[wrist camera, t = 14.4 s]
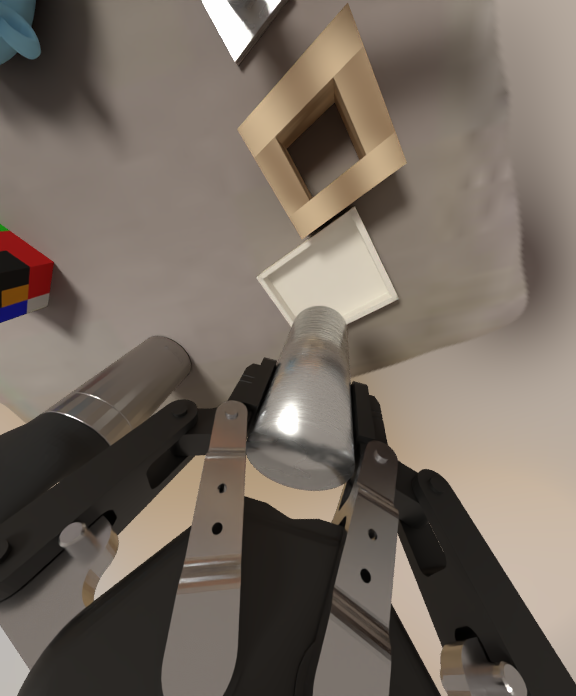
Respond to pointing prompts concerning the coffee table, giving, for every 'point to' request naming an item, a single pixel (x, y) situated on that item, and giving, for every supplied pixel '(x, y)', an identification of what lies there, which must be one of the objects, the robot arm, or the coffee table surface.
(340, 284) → the tray
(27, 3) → the decorative pot
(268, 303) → the coffee table surface
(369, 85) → the block
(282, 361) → the silver metal cylinder
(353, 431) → the robot arm
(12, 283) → the puzzle toy
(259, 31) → the pivot post
